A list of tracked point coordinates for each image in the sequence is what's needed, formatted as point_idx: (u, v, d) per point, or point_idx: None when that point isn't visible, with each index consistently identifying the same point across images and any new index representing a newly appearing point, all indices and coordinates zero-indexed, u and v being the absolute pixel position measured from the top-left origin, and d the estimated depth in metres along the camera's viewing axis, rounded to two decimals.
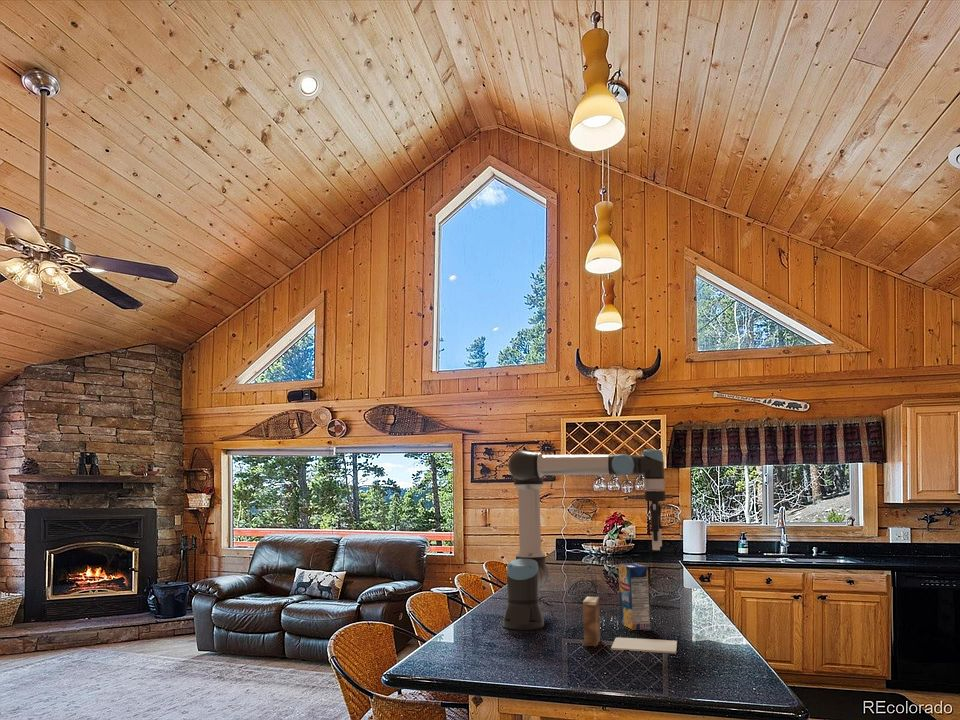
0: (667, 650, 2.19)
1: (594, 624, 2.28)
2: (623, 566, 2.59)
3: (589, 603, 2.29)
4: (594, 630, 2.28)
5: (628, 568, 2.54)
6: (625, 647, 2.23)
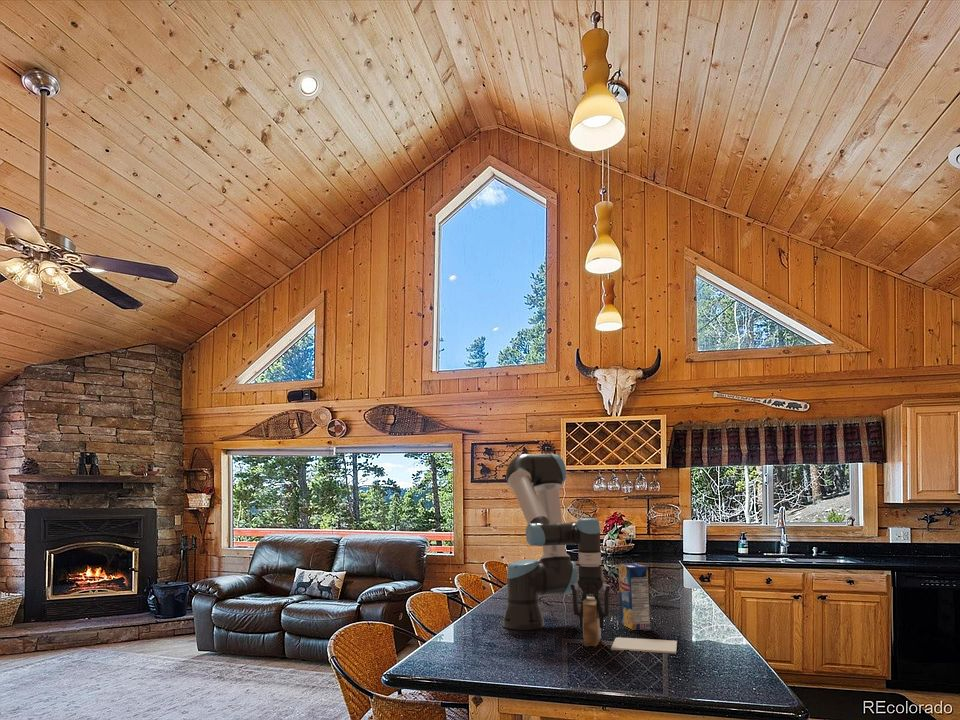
0: (667, 650, 2.19)
1: (594, 624, 2.28)
2: (623, 566, 2.59)
3: (589, 603, 2.29)
4: (594, 630, 2.28)
5: (628, 568, 2.54)
6: (625, 647, 2.23)
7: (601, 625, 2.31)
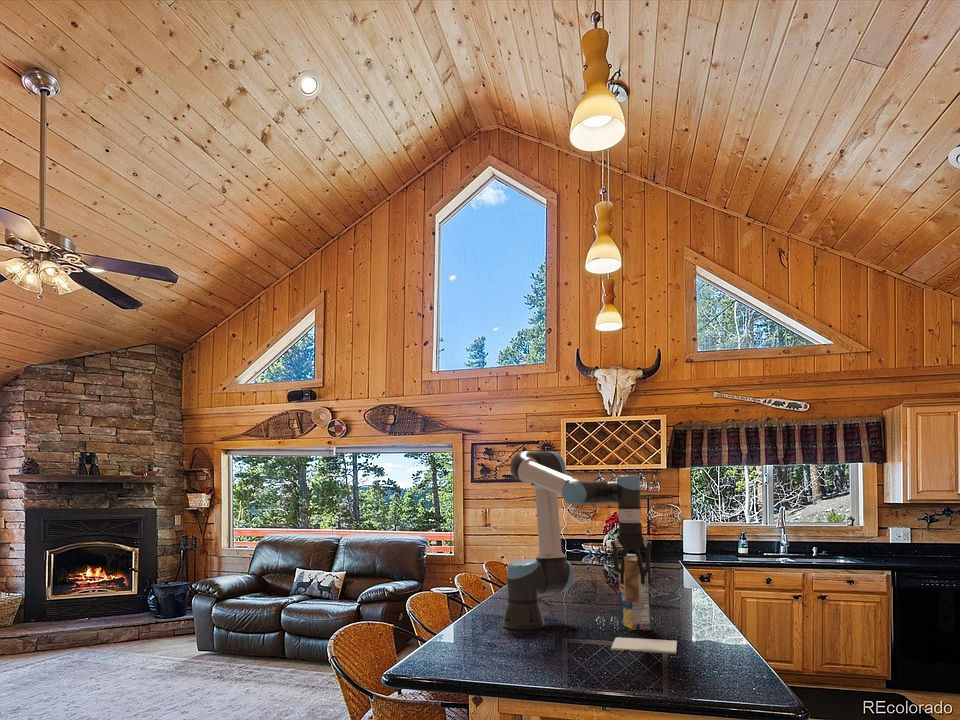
0: (667, 650, 2.19)
1: (636, 579, 2.26)
2: None
3: (630, 559, 2.28)
4: (636, 585, 2.26)
5: None
6: (625, 647, 2.23)
7: (642, 581, 2.30)
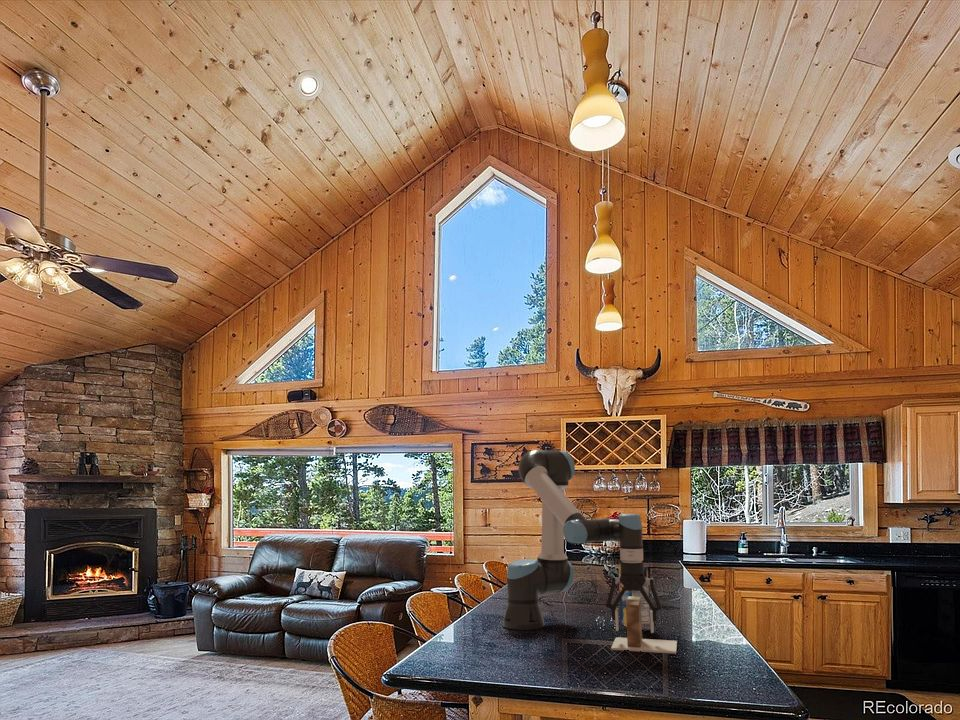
0: (667, 650, 2.19)
1: (638, 624, 2.24)
2: None
3: (632, 603, 2.25)
4: (638, 630, 2.24)
5: None
6: (625, 647, 2.23)
7: (654, 619, 2.27)
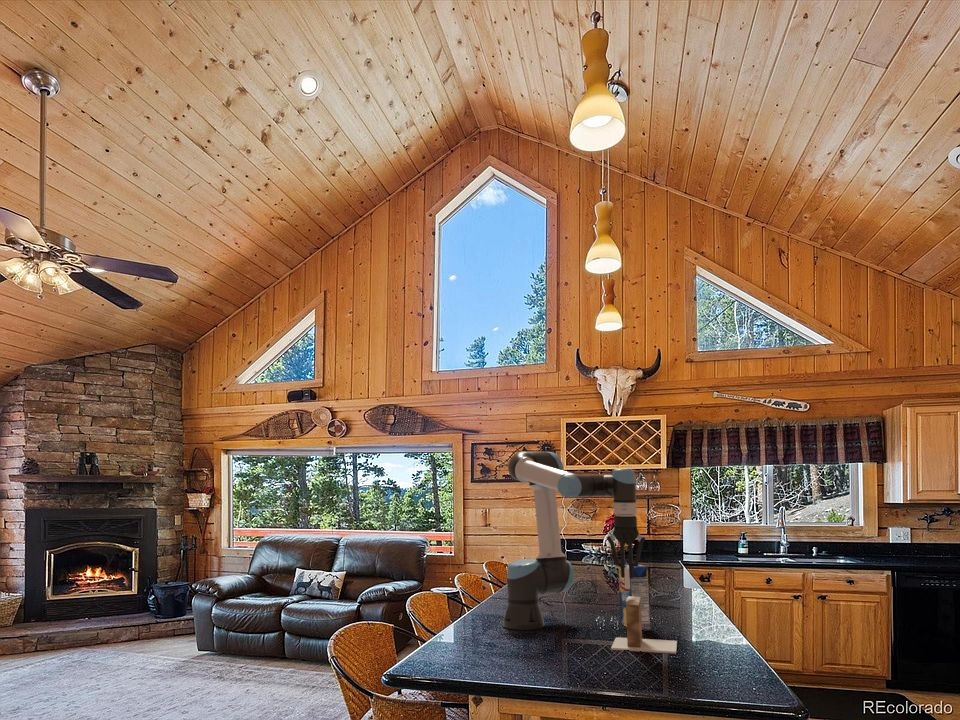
0: (667, 650, 2.19)
1: (638, 624, 2.24)
2: None
3: (632, 603, 2.25)
4: (638, 630, 2.24)
5: None
6: (625, 647, 2.23)
7: (631, 575, 2.31)
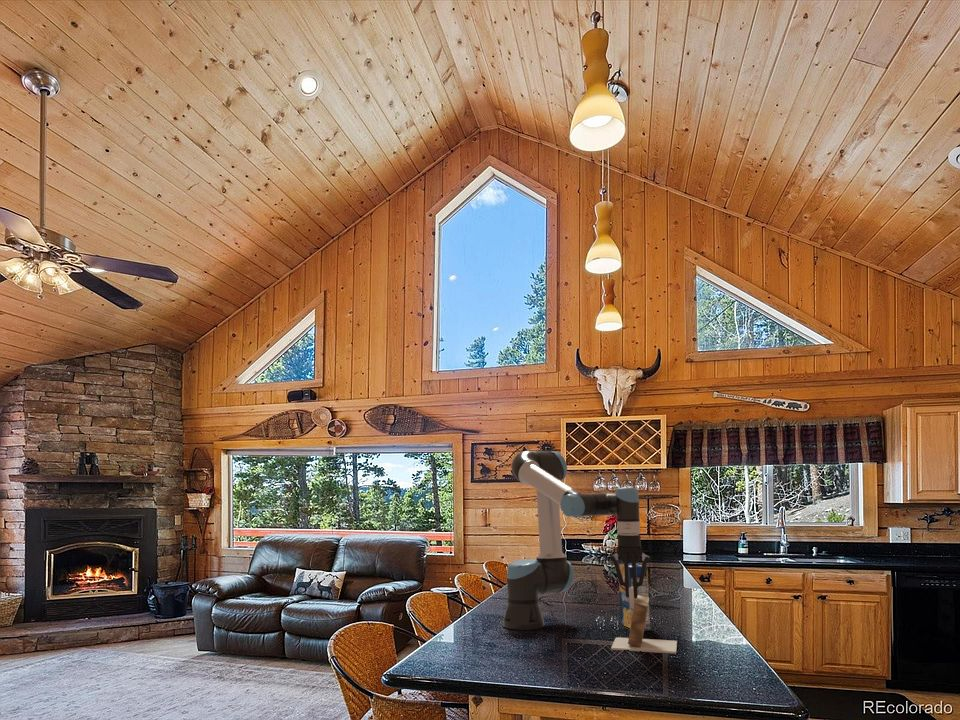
0: (667, 650, 2.19)
1: (642, 625, 2.24)
2: (623, 566, 2.59)
3: (641, 603, 2.25)
4: (641, 631, 2.23)
5: None
6: (625, 647, 2.23)
7: (635, 595, 2.29)
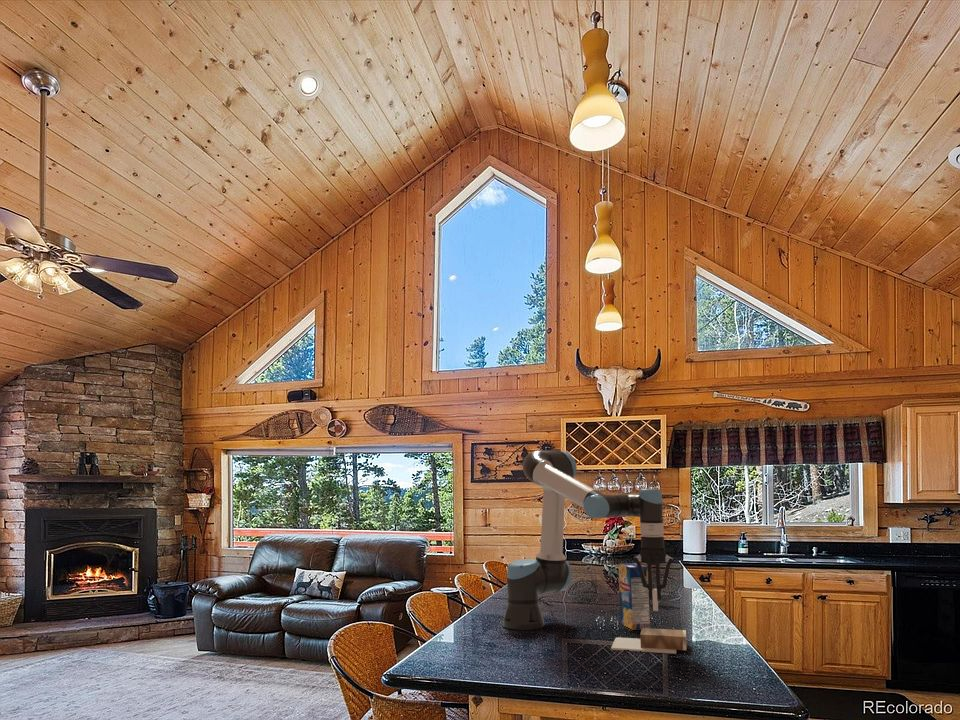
0: (667, 650, 2.19)
1: (663, 647, 2.21)
2: (623, 566, 2.59)
3: (684, 644, 2.19)
4: (657, 647, 2.21)
5: (628, 568, 2.54)
6: (625, 647, 2.23)
7: (659, 597, 2.28)
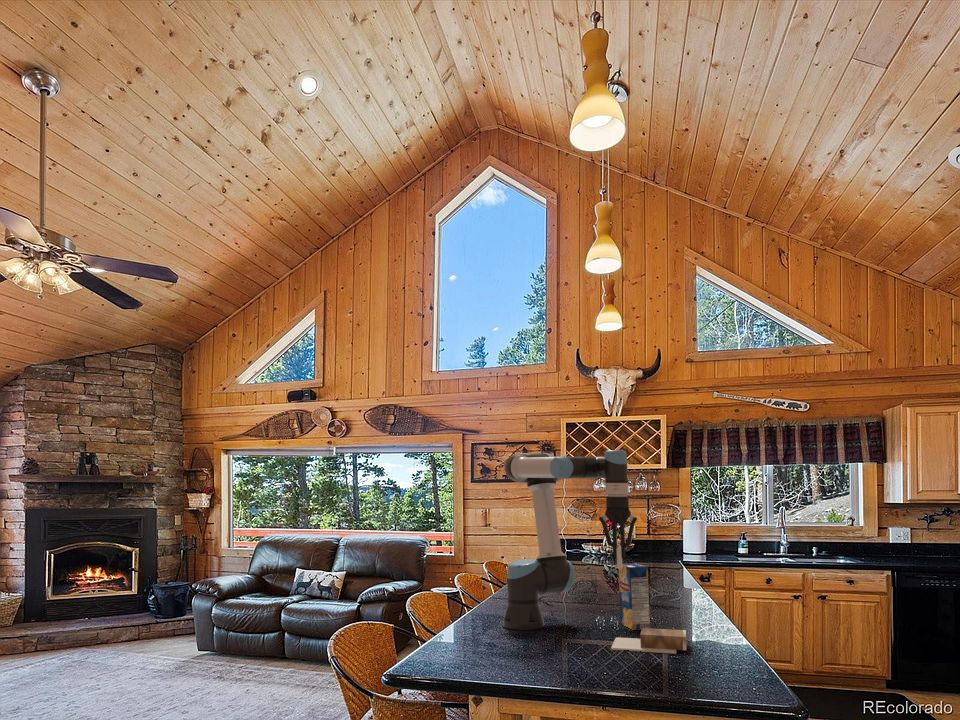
0: (667, 650, 2.19)
1: (663, 647, 2.21)
2: (623, 566, 2.59)
3: (684, 644, 2.19)
4: (657, 647, 2.21)
5: (628, 568, 2.54)
6: (625, 647, 2.23)
7: (623, 555, 2.33)
